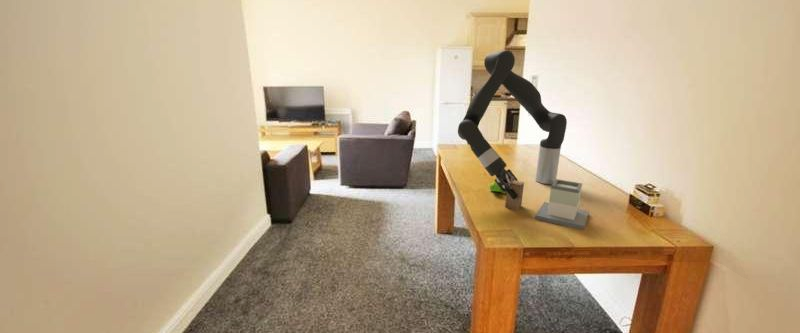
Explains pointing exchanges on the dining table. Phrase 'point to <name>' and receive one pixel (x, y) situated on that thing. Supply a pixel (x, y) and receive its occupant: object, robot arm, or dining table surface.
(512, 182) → the walnut brick
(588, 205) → the dining table surface
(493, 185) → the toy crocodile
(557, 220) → the tower
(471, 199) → the dining table surface
